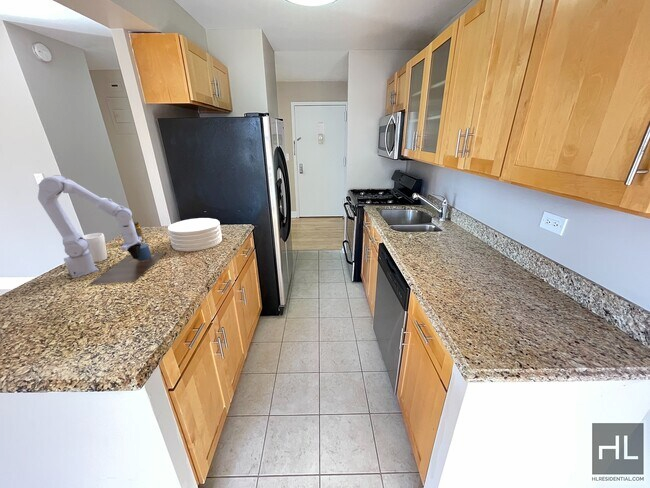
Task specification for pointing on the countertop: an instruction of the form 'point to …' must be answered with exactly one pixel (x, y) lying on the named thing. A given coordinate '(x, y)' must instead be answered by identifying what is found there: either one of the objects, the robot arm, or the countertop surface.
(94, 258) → the foam cup
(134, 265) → the board
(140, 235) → the condiment
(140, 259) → the can
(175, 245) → the plate stack
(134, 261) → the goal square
